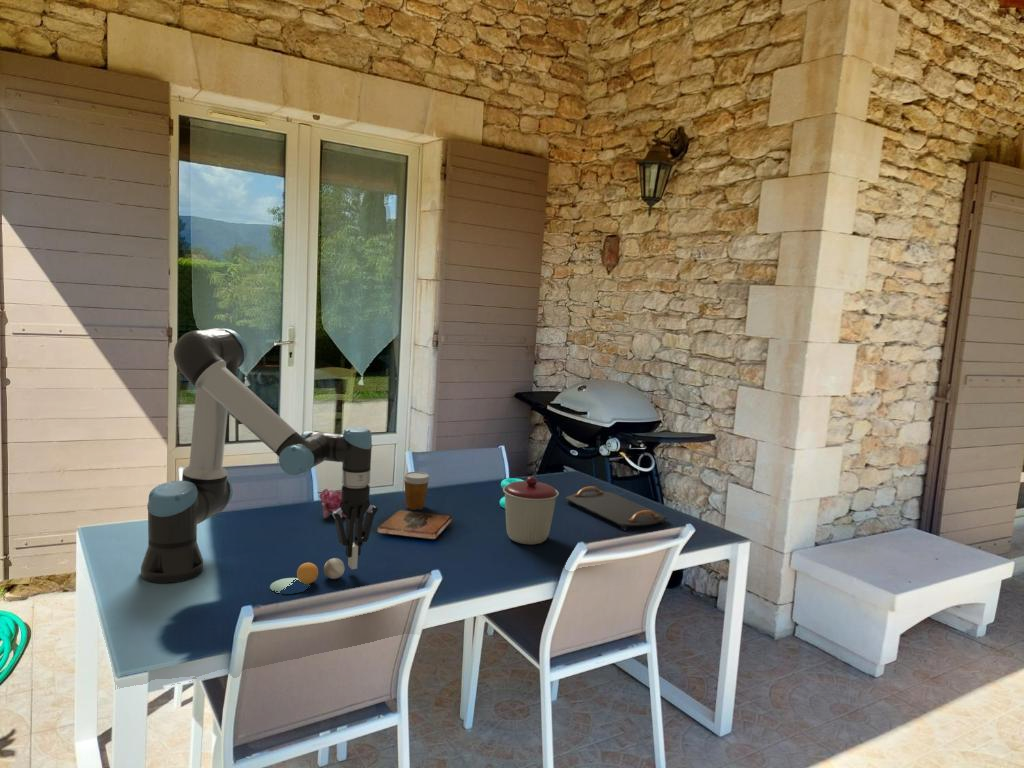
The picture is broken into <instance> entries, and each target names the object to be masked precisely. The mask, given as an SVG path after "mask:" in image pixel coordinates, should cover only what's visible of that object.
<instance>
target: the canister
mask: <svg viewBox="0 0 1024 768" xmlns="http://www.w3.org/2000/svg"><path fill="white" fill-rule="evenodd" d="M502 491H503V493H504V497H505V509H504V511H505V526H506V527H505V529H506V533H507V536H508V538H509V539H510V540H512V541H513V542H516V543H517V544H520V545H521V544H522V545H531V546H532V545H539V544H542V543H543V542H545V541H546V540H547V539H548V537H549V534H550V531H551V526H552V521H553V517H554V511H555V507H556V501H557V497H558V496H559V494H560V493H559V491H558V490H557V489H555V488H554V487H553V486H552V485H551V484H550V485H549V484H547V483H544V482H541V481H538V480H537V478H536V477H535V476H528V477H527V478H526V479H525V480H524V481H517V482H513V483H510V484H509V485H506V486H505V487H504V488H502Z"/></svg>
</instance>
